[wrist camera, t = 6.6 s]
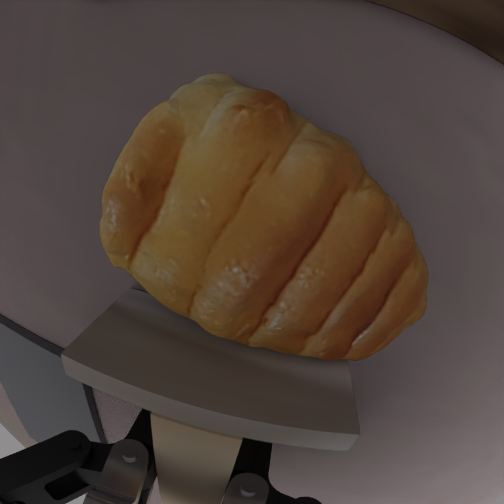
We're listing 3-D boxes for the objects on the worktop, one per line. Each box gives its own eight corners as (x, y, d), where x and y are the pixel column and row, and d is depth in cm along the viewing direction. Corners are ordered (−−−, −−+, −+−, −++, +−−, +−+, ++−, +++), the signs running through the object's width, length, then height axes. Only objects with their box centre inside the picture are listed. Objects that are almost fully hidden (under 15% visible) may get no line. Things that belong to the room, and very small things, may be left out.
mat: (32, 432, 18) (29, 436, 18) (-21, 300, 13) (-27, 304, 13) (121, 481, 18) (118, 485, 17) (84, 359, 12) (77, 365, 12)
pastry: (449, 226, 8) (514, 268, 5) (337, 367, 11) (346, 444, 7) (208, 71, 8) (155, 30, 4) (124, 244, 10) (58, 287, 7)
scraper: (274, 476, 14) (265, 539, 10) (142, 442, 14) (114, 498, 10) (342, 338, 10) (361, 437, 6) (130, 287, 11) (58, 355, 6)
